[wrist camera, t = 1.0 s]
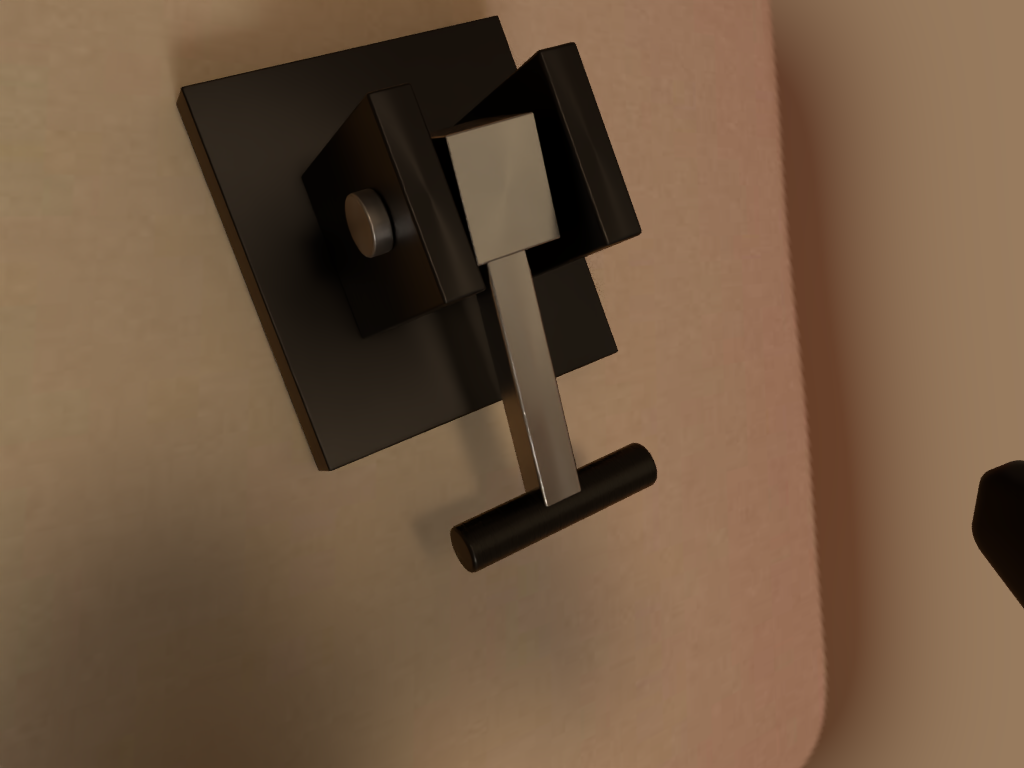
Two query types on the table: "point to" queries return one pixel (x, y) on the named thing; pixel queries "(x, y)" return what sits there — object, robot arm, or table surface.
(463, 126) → the switch lever
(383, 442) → the lever bracket
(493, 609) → the table surface
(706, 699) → the table surface
